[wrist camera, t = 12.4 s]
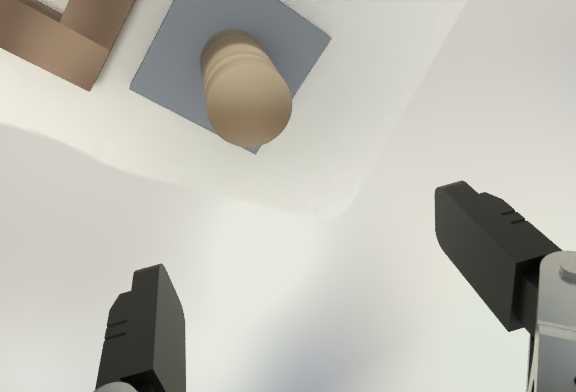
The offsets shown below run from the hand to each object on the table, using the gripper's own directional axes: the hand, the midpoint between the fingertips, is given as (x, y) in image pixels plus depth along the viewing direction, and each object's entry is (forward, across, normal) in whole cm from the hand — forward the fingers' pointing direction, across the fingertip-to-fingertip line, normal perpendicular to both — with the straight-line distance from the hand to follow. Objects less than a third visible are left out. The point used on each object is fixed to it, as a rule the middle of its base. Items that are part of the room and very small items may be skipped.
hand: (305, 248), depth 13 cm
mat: (+22, 0, 0) cm, 22 cm away
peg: (+21, 0, 0) cm, 21 cm away
